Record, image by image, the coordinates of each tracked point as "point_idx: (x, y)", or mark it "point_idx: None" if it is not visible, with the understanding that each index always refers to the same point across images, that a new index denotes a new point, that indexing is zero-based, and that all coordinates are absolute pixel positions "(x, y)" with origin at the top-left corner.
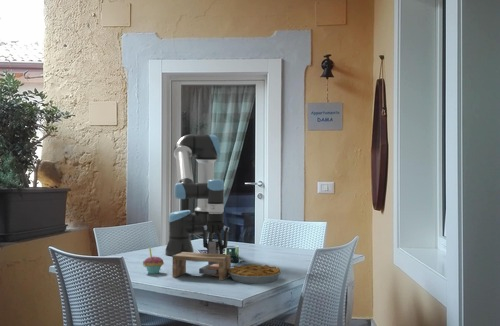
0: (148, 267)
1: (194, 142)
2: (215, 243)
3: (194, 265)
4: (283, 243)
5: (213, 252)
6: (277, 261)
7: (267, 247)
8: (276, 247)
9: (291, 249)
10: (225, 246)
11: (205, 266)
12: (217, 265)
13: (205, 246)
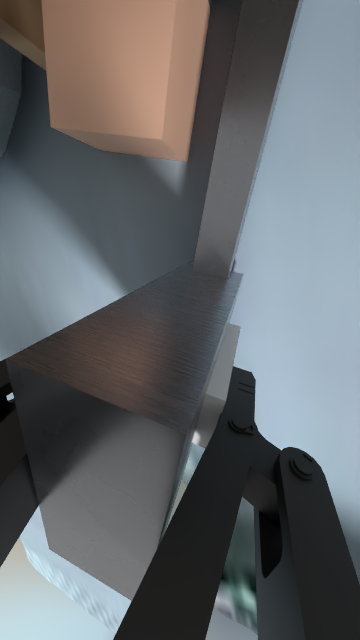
0: None
1: None
2: (41, 347)
3: (354, 418)
4: (93, 612)
5: (161, 298)
6: None
7: (111, 598)
8: (92, 589)
9: (55, 558)
10: (4, 361)
11: (255, 110)
12: (109, 32)
13: (284, 459)
